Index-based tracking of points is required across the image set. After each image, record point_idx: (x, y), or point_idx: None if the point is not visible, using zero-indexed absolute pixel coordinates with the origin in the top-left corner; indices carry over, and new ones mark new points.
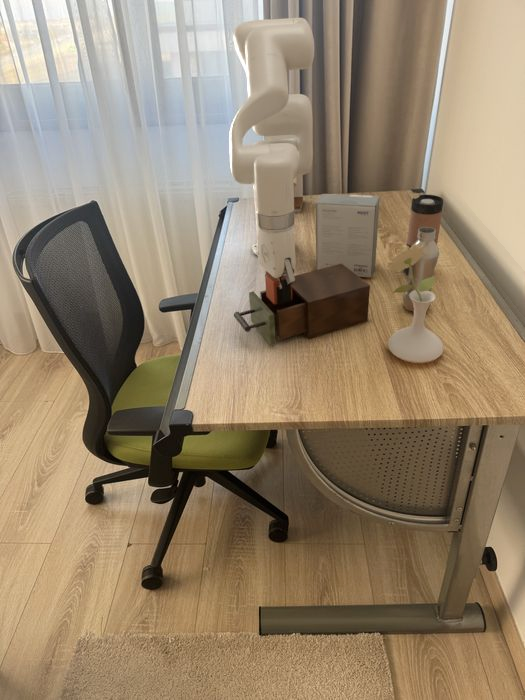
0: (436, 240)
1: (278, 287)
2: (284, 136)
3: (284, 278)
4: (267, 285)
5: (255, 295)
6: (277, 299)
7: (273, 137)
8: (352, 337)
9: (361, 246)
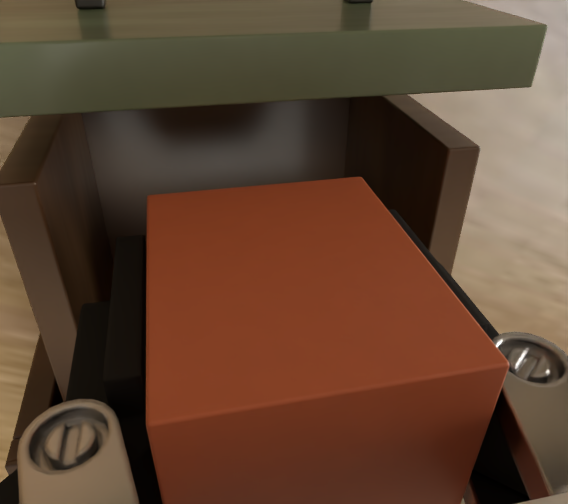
0: None
1: (106, 406)
2: None
3: None
4: (364, 268)
5: (442, 73)
6: (126, 262)
7: None
8: (15, 417)
9: None
